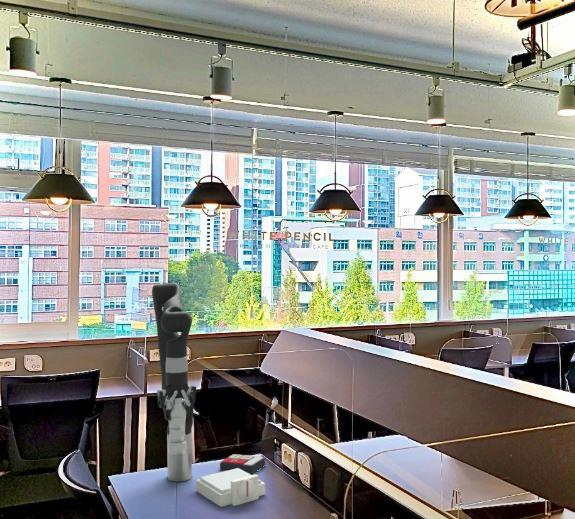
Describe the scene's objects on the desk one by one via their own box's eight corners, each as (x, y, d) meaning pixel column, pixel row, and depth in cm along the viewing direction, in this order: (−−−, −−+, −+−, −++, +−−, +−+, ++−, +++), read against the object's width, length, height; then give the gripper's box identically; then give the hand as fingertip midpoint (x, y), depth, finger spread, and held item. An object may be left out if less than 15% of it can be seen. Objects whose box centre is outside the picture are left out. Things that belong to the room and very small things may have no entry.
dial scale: (196, 490, 216) (196, 468, 216) (239, 479, 226) (238, 458, 226) (224, 509, 199) (224, 485, 199) (269, 497, 209) (269, 474, 209)
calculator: (233, 453, 248) (265, 455, 242) (233, 463, 248) (265, 466, 242) (219, 461, 238) (252, 464, 232) (219, 472, 238) (252, 475, 232)
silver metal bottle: (190, 453, 207) (190, 395, 208) (180, 459, 201) (180, 399, 201) (174, 451, 210) (173, 394, 210) (164, 457, 203) (163, 398, 203)
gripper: (190, 366, 213) (191, 413, 213) (152, 370, 204) (153, 419, 204) (200, 369, 207) (200, 417, 206) (161, 373, 198) (161, 424, 198)
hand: (177, 418), depth 205 cm, fingers closed on silver metal bottle, 6 cm apart
